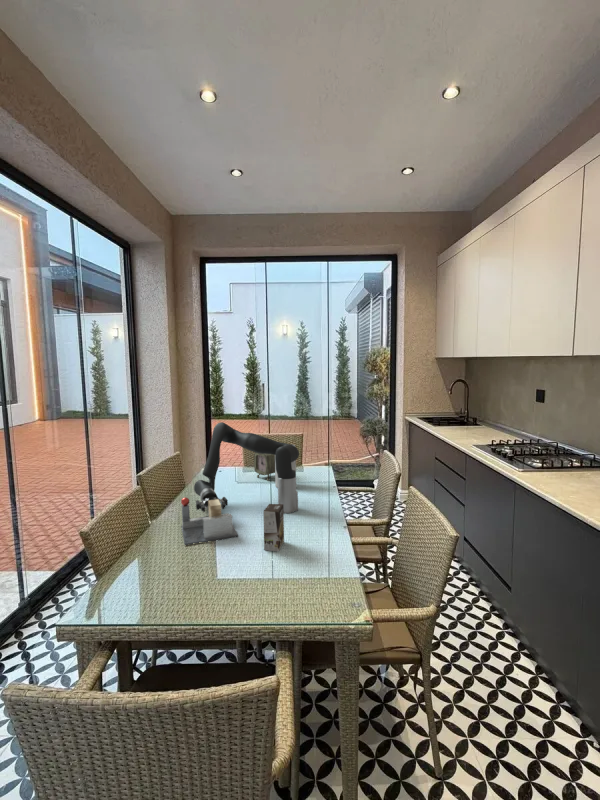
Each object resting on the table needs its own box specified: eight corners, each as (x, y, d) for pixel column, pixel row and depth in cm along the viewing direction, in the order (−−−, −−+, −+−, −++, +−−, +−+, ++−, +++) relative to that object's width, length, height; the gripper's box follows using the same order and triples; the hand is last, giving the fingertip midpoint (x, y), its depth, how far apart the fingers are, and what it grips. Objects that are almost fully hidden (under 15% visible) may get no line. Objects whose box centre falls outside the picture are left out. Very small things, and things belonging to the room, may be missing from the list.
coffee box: (279, 551, 154) (278, 511, 153) (263, 550, 155) (262, 510, 154) (284, 541, 163) (284, 503, 162) (269, 540, 164) (269, 502, 163)
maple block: (219, 524, 179) (218, 499, 178) (221, 531, 172) (221, 504, 171) (209, 526, 177) (208, 500, 176) (211, 533, 170) (210, 506, 169)
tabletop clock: (254, 477, 259) (253, 440, 257) (265, 474, 265) (264, 438, 263) (267, 482, 249) (266, 443, 247) (278, 479, 255) (278, 441, 253)
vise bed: (229, 520, 187) (228, 501, 186) (238, 537, 168) (237, 516, 167) (181, 527, 179) (180, 508, 178) (184, 545, 160) (183, 524, 159)
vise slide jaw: (228, 519, 185) (227, 491, 184) (230, 521, 182) (229, 493, 181) (181, 526, 178) (180, 496, 177) (182, 529, 174) (181, 499, 173)
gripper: (193, 491, 189) (197, 502, 174) (223, 488, 194) (229, 498, 179) (194, 506, 189) (198, 518, 174) (223, 502, 194) (229, 514, 179)
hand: (213, 508), depth 176 cm, fingers open, 8 cm apart
